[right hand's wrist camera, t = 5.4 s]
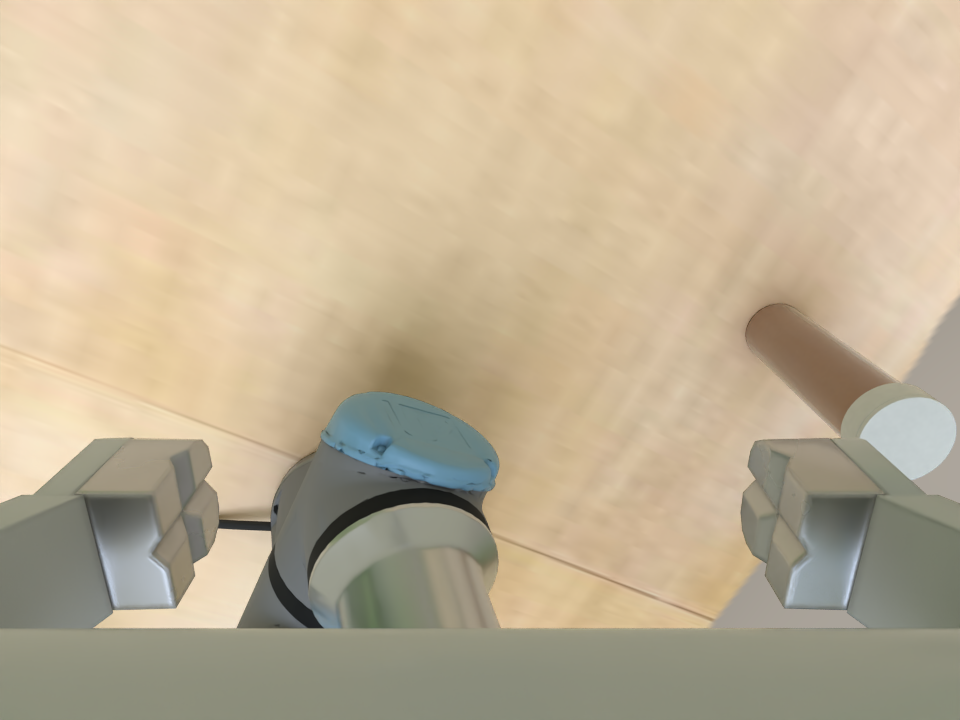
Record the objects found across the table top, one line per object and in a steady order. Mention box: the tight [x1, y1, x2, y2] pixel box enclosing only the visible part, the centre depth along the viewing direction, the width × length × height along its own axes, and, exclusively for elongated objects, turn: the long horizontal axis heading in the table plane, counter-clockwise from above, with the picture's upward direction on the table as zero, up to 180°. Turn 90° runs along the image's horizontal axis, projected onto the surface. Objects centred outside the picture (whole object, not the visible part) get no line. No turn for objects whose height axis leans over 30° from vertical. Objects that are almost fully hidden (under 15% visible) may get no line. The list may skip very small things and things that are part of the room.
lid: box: [841, 383, 956, 480], centre depth 43 cm, size 6×6×2 cm
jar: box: [746, 304, 900, 438], centre depth 51 cm, size 5×5×20 cm
